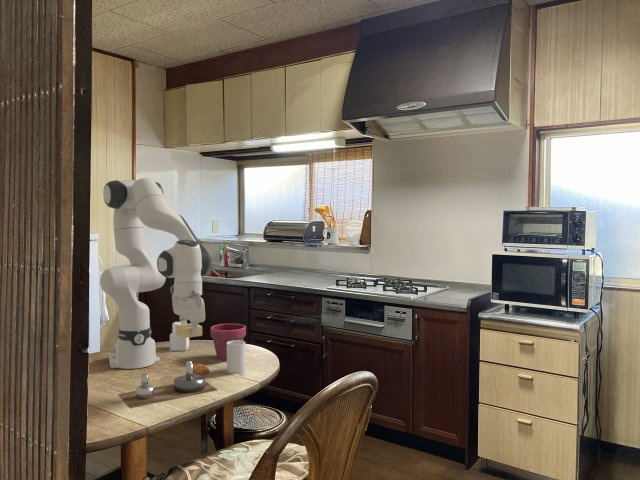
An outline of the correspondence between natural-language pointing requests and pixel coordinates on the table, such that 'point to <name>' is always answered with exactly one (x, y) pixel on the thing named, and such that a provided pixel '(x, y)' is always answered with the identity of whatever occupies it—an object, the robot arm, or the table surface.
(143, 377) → the silver knob
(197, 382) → the hub
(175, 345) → the medicine bottle
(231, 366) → the mug
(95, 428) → the table surface
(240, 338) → the plant pot
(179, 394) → the base board
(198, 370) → the pastry
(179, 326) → the collar
